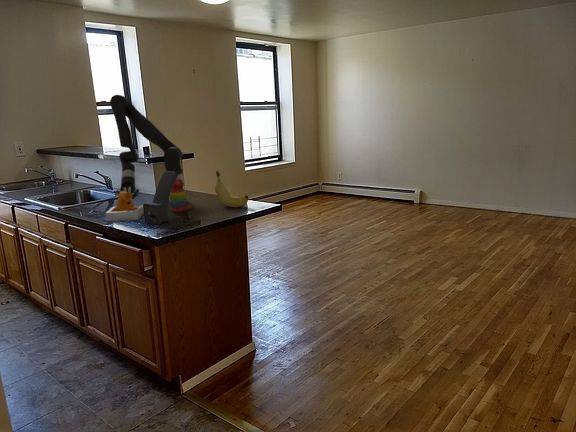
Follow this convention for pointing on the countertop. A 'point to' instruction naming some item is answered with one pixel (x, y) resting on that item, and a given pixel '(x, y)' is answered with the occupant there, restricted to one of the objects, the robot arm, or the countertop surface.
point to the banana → (228, 195)
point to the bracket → (124, 214)
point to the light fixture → (160, 200)
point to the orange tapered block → (125, 202)
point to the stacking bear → (178, 197)
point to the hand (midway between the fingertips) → (127, 204)
